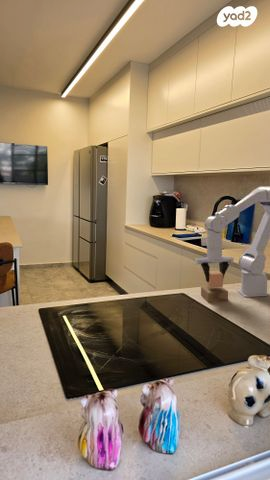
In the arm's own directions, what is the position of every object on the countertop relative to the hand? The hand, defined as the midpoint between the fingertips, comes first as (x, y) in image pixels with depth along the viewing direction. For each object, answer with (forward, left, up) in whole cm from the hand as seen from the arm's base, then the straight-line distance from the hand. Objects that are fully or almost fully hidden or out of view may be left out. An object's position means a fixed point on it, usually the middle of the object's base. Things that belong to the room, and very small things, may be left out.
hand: (214, 281), depth 130 cm
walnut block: (0, 0, -7) cm, 7 cm away
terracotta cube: (0, 0, -2) cm, 2 cm away
